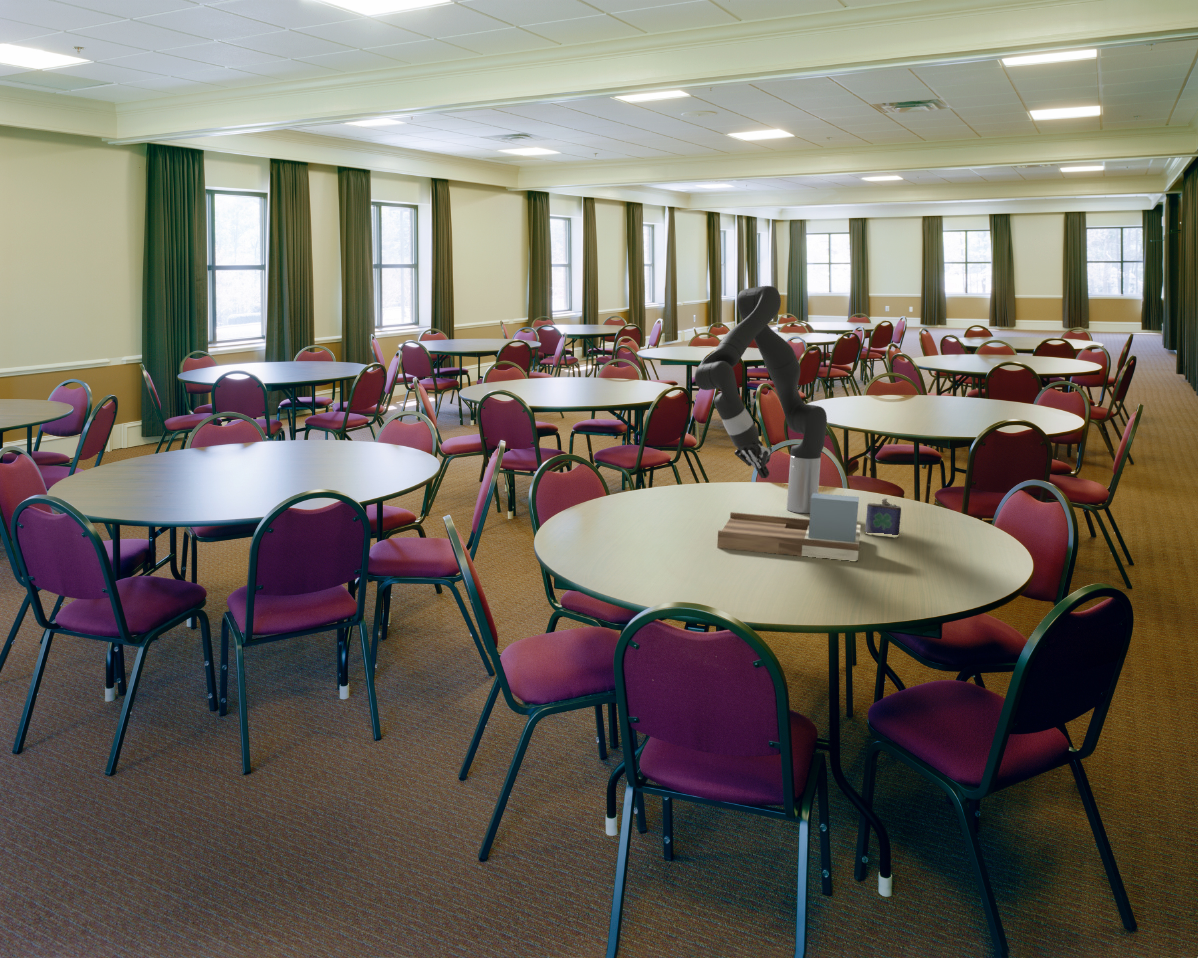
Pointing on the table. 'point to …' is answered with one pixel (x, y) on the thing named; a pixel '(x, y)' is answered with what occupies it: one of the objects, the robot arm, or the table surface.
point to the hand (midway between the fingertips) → (765, 476)
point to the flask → (883, 518)
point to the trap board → (782, 537)
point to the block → (833, 517)
